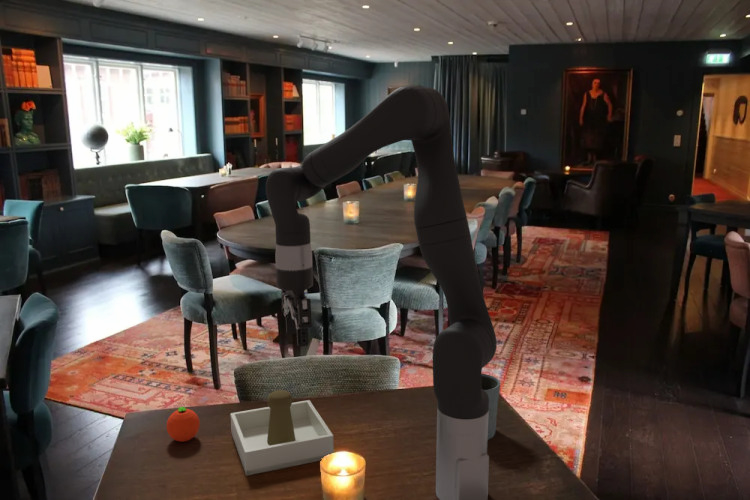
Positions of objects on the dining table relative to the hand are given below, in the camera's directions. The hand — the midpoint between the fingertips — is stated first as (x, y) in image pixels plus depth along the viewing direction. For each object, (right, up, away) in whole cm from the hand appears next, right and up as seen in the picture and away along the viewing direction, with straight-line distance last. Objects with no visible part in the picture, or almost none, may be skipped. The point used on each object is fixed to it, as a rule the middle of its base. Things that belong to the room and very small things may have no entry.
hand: (297, 339), depth 133 cm
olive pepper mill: (-4, -22, +2) cm, 23 cm away
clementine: (-25, -23, +5) cm, 34 cm away
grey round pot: (+39, -22, +8) cm, 45 cm away
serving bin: (-4, -23, +2) cm, 23 cm away
